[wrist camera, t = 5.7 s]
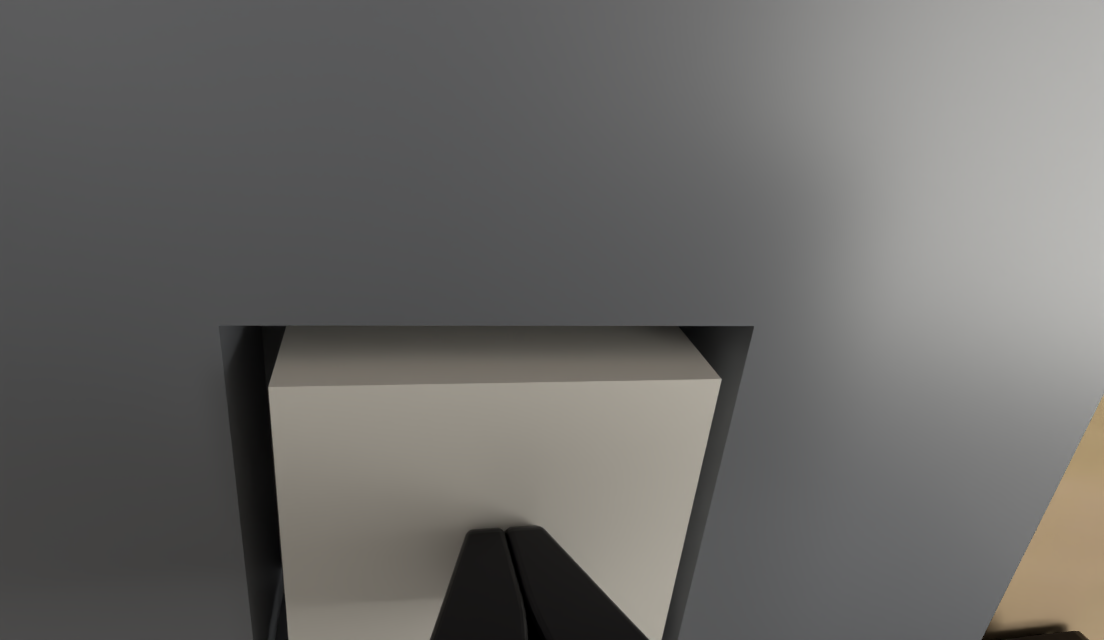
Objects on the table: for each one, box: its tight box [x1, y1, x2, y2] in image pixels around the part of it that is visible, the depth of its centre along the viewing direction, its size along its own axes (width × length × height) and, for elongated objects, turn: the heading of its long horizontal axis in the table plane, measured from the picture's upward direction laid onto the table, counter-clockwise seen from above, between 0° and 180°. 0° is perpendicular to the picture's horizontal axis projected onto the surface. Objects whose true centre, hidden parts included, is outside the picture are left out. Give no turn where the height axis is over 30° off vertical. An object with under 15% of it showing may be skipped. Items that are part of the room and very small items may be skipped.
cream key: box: [268, 326, 722, 640], centre depth 9 cm, size 4×4×2 cm
